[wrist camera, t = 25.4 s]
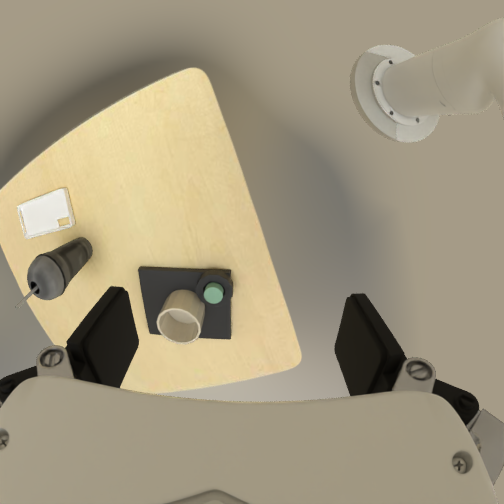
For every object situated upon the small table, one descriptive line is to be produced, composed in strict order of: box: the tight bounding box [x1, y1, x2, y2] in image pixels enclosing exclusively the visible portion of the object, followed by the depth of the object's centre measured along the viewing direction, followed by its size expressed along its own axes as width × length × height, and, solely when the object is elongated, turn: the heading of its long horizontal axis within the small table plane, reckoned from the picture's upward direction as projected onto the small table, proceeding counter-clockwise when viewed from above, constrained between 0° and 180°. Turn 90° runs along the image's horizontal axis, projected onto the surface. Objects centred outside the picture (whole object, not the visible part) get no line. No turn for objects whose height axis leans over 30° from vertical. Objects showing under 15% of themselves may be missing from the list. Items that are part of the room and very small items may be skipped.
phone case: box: [17, 188, 75, 239], centre depth 40 cm, size 7×1×15 cm
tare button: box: [204, 282, 224, 304], centre depth 43 cm, size 3×3×2 cm
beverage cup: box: [15, 238, 92, 309], centre depth 35 cm, size 7×7×20 cm
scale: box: [138, 267, 233, 339], centre depth 47 cm, size 16×14×3 cm
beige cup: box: [157, 290, 205, 344], centre depth 44 cm, size 7×7×6 cm
